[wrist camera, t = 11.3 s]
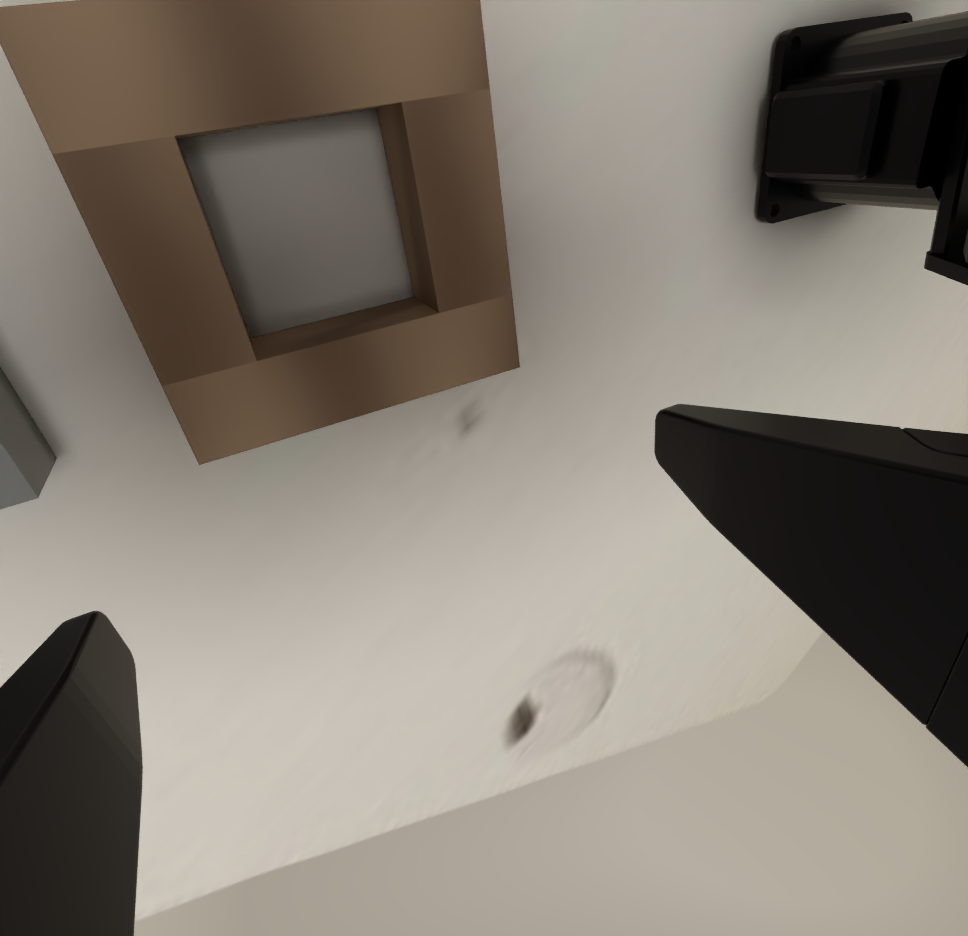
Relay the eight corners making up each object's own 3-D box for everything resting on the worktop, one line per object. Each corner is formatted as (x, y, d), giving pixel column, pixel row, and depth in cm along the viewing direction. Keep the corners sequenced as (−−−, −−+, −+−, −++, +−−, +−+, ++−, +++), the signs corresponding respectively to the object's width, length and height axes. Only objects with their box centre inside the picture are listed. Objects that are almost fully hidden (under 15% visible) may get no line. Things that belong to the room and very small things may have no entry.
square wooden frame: (441, -10, 16) (476, -33, 14) (489, 347, 22) (519, 367, 20) (16, 31, 13) (-17, 8, 11) (199, 431, 19) (199, 464, 17)
